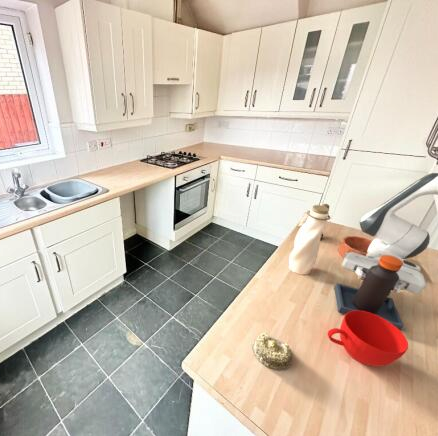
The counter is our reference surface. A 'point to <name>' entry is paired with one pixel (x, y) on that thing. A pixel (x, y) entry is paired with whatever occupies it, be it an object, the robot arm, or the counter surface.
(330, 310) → the counter surface
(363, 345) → the ceramic cup
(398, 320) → the tray
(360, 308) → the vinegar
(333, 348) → the counter surface
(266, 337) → the seeded bagel
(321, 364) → the counter surface
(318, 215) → the water bottle
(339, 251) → the bowl
